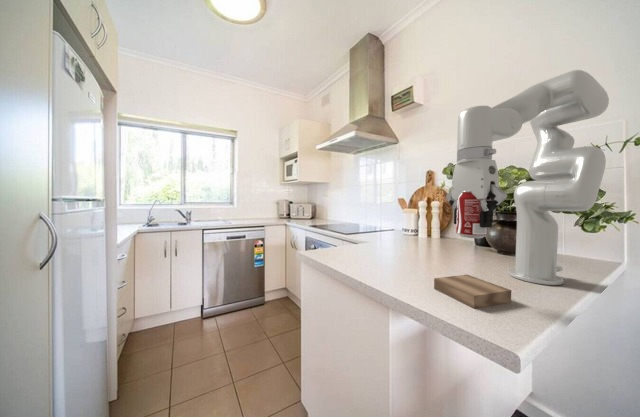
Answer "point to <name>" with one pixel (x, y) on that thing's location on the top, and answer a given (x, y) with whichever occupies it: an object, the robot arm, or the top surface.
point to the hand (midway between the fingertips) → (471, 225)
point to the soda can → (469, 216)
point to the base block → (472, 291)
